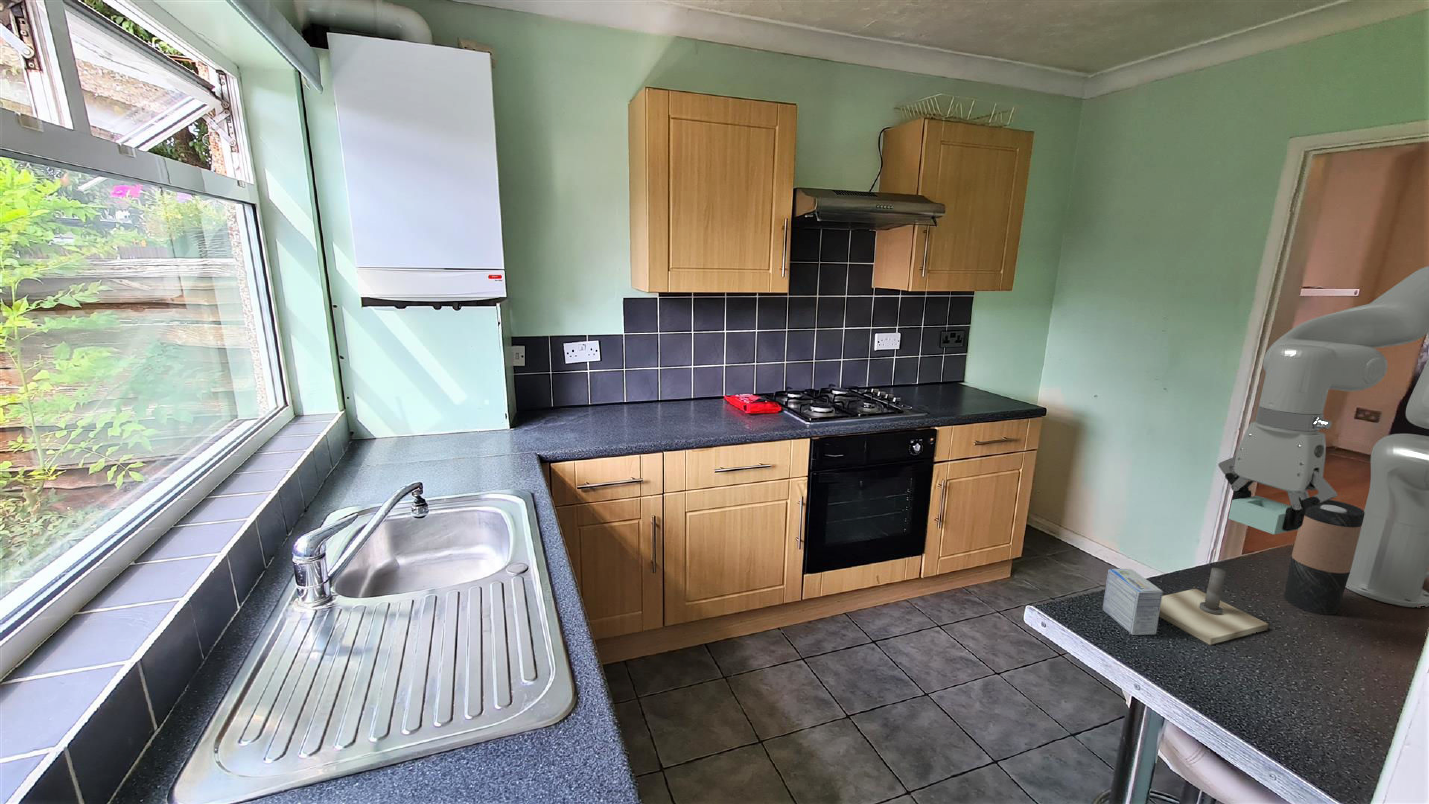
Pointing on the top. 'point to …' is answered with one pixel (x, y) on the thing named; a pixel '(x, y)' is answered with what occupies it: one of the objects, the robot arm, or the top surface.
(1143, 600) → the medicine box
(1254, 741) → the top surface
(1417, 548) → the robot arm
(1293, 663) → the top surface
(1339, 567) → the travel mug
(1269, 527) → the ring
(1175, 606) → the board
